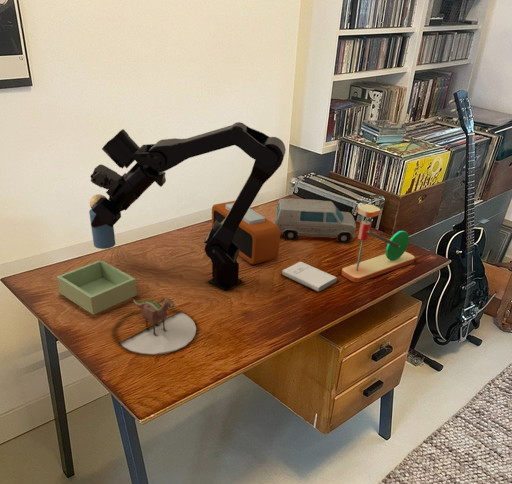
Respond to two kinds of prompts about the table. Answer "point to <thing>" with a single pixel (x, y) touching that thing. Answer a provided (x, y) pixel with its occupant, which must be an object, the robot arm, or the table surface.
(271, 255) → the alarm clock
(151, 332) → the dinosaur
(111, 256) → the table surface
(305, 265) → the hard drive
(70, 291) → the green square tray
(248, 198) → the robot arm
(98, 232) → the peg doll
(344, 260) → the table surface
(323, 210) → the toy car
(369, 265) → the crank mechanism
